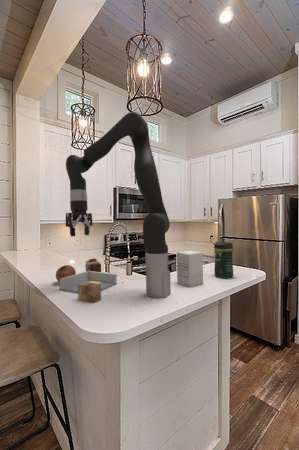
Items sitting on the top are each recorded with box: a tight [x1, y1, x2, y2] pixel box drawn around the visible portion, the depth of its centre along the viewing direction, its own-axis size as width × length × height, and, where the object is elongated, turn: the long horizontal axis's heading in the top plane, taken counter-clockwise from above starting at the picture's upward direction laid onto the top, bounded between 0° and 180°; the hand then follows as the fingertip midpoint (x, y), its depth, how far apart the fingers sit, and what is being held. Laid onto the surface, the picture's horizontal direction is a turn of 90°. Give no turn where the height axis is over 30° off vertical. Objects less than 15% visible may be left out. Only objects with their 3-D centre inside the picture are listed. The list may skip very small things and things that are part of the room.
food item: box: [85, 258, 102, 272], centre depth 129 cm, size 14×8×10 cm, turn 26°
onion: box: [55, 264, 77, 283], centre depth 116 cm, size 10×9×10 cm
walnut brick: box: [77, 282, 102, 304], centre depth 90 cm, size 8×4×6 cm, turn 62°
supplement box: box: [176, 250, 204, 288], centre depth 111 cm, size 9×9×15 cm
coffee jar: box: [213, 240, 234, 279], centre depth 123 cm, size 10×8×19 cm
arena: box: [59, 270, 118, 294], centre depth 107 cm, size 18×18×5 cm
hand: (80, 235), depth 107 cm, fingers open, 8 cm apart
